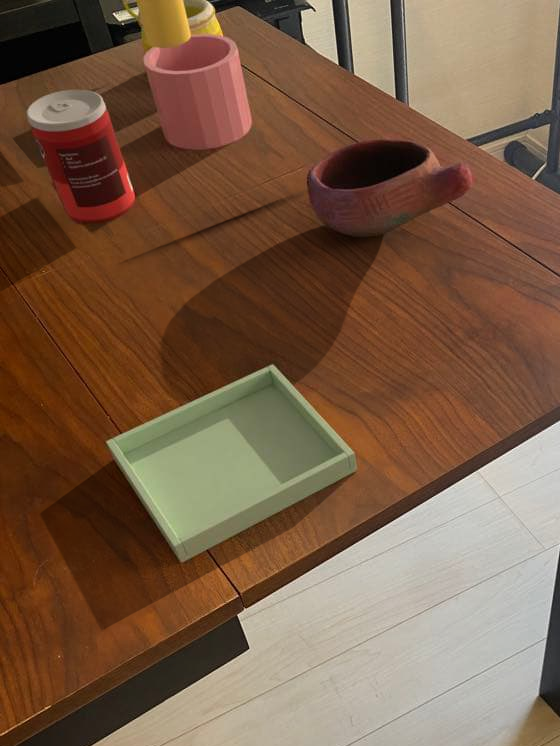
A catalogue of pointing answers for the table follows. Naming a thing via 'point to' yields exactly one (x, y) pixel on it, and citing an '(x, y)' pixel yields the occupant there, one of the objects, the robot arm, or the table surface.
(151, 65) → the pot
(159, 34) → the bottle
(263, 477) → the tray
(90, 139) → the canned food
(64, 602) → the table surface
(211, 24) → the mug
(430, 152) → the bowl
